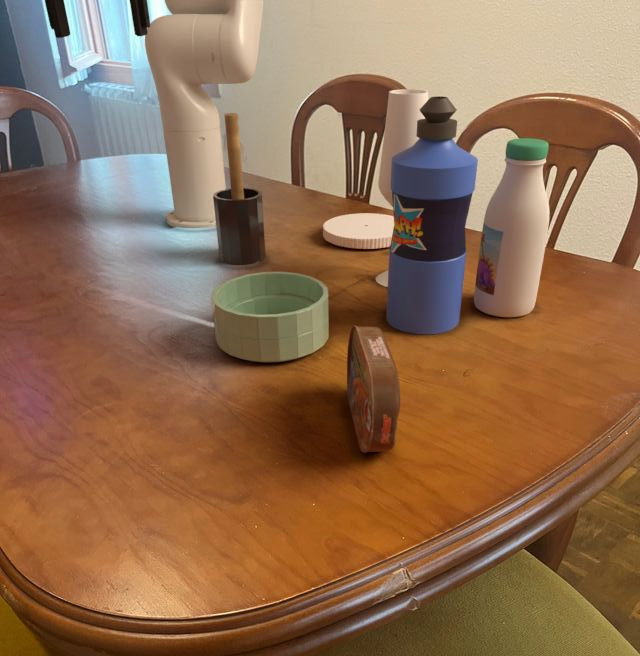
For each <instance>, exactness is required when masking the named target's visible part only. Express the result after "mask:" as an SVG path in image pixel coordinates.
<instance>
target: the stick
mask: <svg viewBox="0 0 640 656" xmlns="http://www.w3.org/2000/svg"><path fill="white" fill-rule="evenodd" d="M238 116H239V115H238V113H237V112H229V113H228V112H227V113H224V126H225V127H224V128H225V137H226V138H225V139H226V148H227V149H226V150H227V161H228V172H229V182H230V183H229V184H230V188H231V195H232V199H234V200H238V199H244V190H243V188H244V179H243V167H242V154H241V153H242V152H241V142H240V141H241V140H240V127H239V126H240V125H239V117H238Z"/></svg>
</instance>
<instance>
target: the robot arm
mask: <svg viewBox="0 0 640 656" xmlns="http://www.w3.org/2000/svg"><path fill="white" fill-rule="evenodd" d="M44 4H45V8H46V12H47V13H46V14H47V17H48V22H49V26H50V28H51V30H53V31H54V36H55V38H56V39H62V38H68V37H70V36H71V29H70V25H69V19H68V14H67V9H66V5H65V0H44ZM148 4H149V3H148V0H129V6H130V12H131V19H132V25H133V31H134V35H135V36H136V37H143V36H144V48H145V53H146V58H147V61H148V65H149V68H150V71H151V74H152V78H153V81H154V85H155V90H156V93H157V99H158V105H159V110H160V117H161V123H162V131H163V138H164V146H165V153H166V154H165V155H166V160H167V168H168V175H169V182H170V189H171V190H170V191H171V197H172V204H173V209H172V210H171V211H170V212H168V213H167V215H166V223H167V225H168V226H169V227H171V228H183V229H206V228H208V229H209V228H214V227H216V219H215V210H214V200H213V195H214V193H216V192H218V191H220V190H224V189H227V184H226V176H225V163H224V152H223V143H222V130H221V120H220V114H219V110H218V108H217V106H216V104H215V102H214V100H213V98H212V97H211V96H210V95H209V93H208V92H207V90H206V89H205V88H204V86H203V85H216V84H217V85H226V84H227V85H232V84H233V85H235V84H245V83H247V82H249V81H250V80H251V79H252V78H253V77H254V76H255V75H254V74H255V72H256V69H257V65H258V58H259V50H260V49H259V48H260V38H261V30H262V20H263V12H264V0H164V4H165V6H166V8H167V10H168V11H169V12H170V14H166V15H162V16H159V17H157V18H155V19H153V20H152V21H151V19H150V18H151V17H150V12H149V11H150V10H149V6H148Z"/></svg>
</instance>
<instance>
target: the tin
mask: <svg viewBox="0 0 640 656" xmlns="http://www.w3.org/2000/svg"><path fill="white" fill-rule="evenodd" d="M346 359H347V360H346V392H347V398H348V399H347V401H348V405H349V410H350V414H351V418H352V422H353V426H354V431H355V435H356V439H357V444H358V447H359V449H360V451H361V452H362V453H363V454H366V453H369V452H371V453H372V452H374V453H375V452H389V451H391V450H393V449H394V447H395V446H396V441H397V439H396V434H397V428H398V419H399V415H400V411H401V384H400V378H399V373H398V369H397V365H396V363H395V361H394V358H393V355H392V352H391V350H390V346H389V345H388V342H387V340H386V337H385V335H384V333H383V331H382V329H381V328H380V327H378V326H357V325H352V327H351V329H350V332H349V337H348V344H347V356H346Z"/></svg>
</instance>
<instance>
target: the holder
mask: <svg viewBox="0 0 640 656" xmlns="http://www.w3.org/2000/svg"><path fill="white" fill-rule="evenodd" d="M243 190H244V199H238V200H234V199H232V195H231V187H230V188H226V189H224V190H220V191H218V192H216V193H214V195H213V200H214V210H215V219H216V226H215V227H216V228H215V229H216V237H217V249H218V258H219V260H220V262H222V263H223V264H226V265H231V266H247V265H254V264H257V263H260V262H262V261H264V260H265V259H266V256H267V254H266V250H267V249H266V237H265V235H266V234H265V221H264V219H265V218H264V207H263V192H262V191H261V190H259V189H257V188H251V187H243Z"/></svg>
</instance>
